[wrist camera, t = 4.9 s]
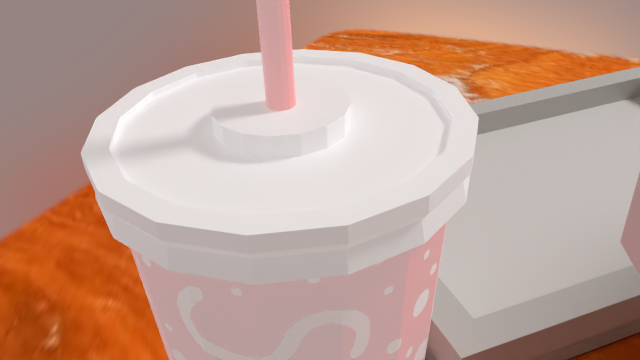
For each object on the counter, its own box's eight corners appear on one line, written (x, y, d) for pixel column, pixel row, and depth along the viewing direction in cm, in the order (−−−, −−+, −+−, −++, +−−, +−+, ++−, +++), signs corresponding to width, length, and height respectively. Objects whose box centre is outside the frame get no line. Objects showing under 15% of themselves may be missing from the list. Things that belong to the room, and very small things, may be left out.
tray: (639, 95, 30) (647, 65, 29) (915, 227, 21) (938, 188, 20) (299, 176, 25) (296, 142, 24) (456, 401, 16) (461, 358, 15)
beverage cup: (122, 517, 13) (-185, -271, 6) (267, 330, 18) (196, -250, 10) (380, 666, 11) (411, -363, 3) (472, 405, 15) (572, -284, 8)
